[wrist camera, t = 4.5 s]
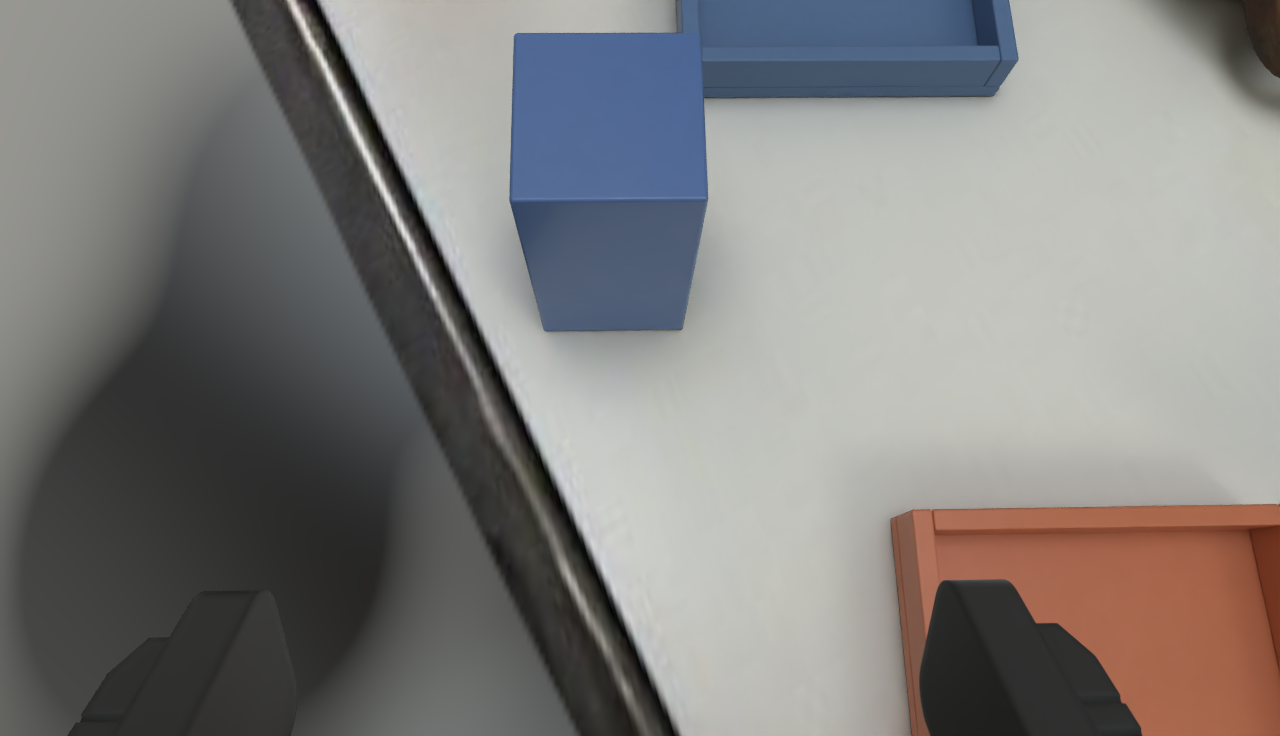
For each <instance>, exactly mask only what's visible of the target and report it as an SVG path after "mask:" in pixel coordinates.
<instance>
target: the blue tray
mask: <svg viewBox="0 0 1280 736" xmlns="http://www.w3.org/2000/svg"><path fill="white" fill-rule="evenodd" d="M676 16H677V33H700V35H701V47H702V70H703V92H704V97H872V96H994V95H995V93H996V92H997V90H998V89H999V88H1000V85H1001V84H1002V83H1003V81H1004V80H1005V79H1006V77H1007V76H1008V74H1009V73H1010V71H1011V70H1012V69H1013V67H1014V66H1015V64H1016V63H1017V61H1018V53H1017V47H1016V41H1015V35H1014V29H1013V23H1012V16H1011V10H1010V4H1009V0H676Z"/></svg>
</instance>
